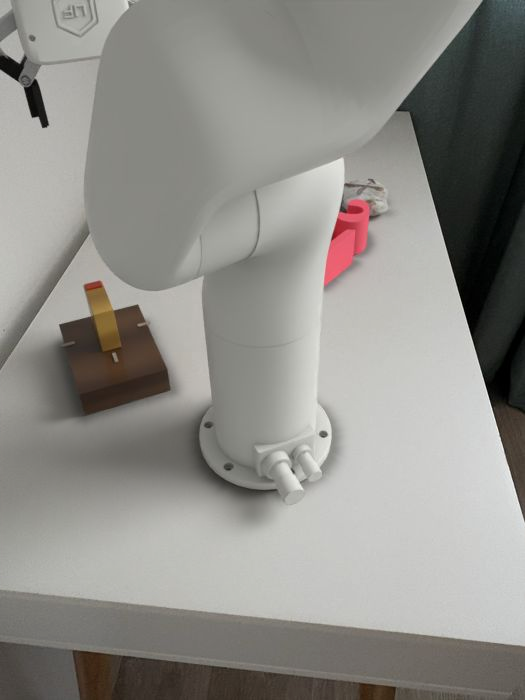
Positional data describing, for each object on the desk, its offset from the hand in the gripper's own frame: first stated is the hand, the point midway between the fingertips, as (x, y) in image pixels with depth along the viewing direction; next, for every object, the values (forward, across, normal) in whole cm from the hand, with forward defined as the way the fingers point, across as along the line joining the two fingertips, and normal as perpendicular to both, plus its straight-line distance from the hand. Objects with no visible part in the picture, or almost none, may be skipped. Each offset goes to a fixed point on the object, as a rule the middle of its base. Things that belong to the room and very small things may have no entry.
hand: (92, 115), depth 64 cm
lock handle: (+20, -4, -11) cm, 23 cm away
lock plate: (+23, -4, -12) cm, 26 cm away
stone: (+23, +38, +9) cm, 45 cm away
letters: (+23, +26, -2) cm, 35 cm away
